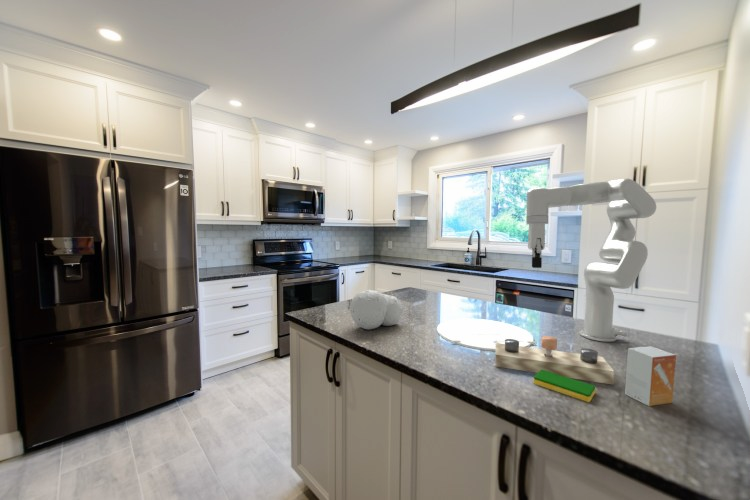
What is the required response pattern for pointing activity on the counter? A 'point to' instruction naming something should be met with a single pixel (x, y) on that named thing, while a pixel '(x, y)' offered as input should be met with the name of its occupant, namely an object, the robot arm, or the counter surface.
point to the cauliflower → (375, 309)
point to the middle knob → (549, 344)
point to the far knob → (511, 345)
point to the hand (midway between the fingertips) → (536, 267)
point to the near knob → (588, 355)
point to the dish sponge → (565, 385)
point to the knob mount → (554, 364)
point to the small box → (650, 375)
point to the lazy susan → (482, 333)
